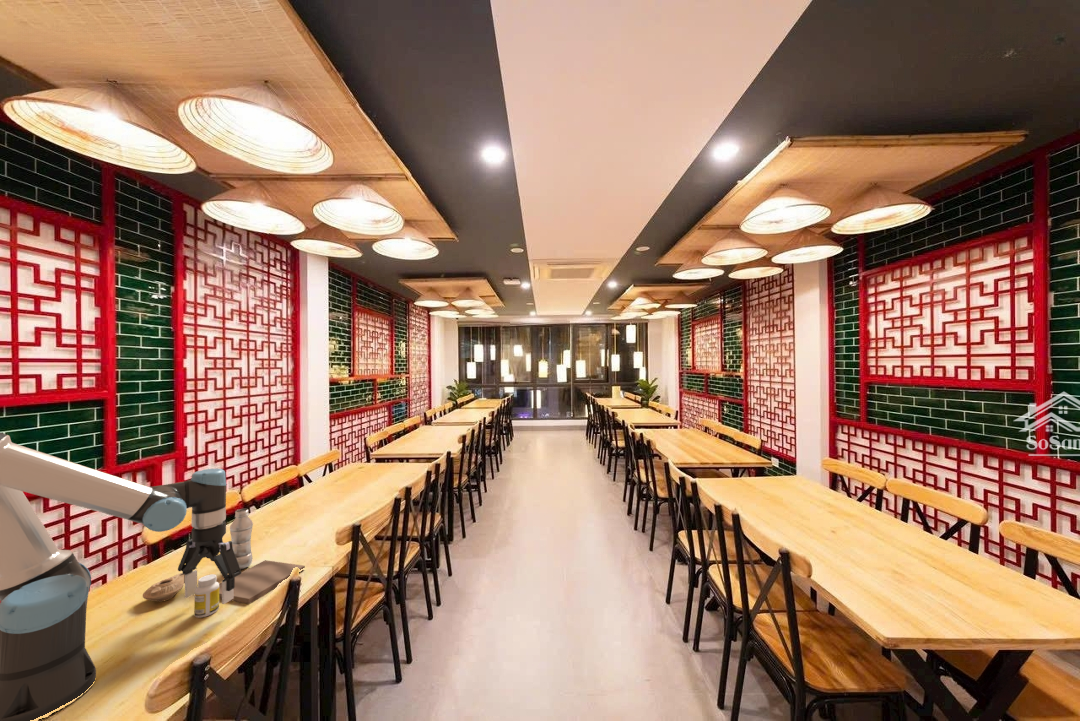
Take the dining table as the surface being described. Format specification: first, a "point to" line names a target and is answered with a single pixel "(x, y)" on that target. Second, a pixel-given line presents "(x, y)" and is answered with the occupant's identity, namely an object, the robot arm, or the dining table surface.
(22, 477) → the robot arm
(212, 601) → the supplement bottle
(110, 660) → the dining table surface
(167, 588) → the pottery oil lamp
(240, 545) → the plastic bottle
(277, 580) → the serving board
